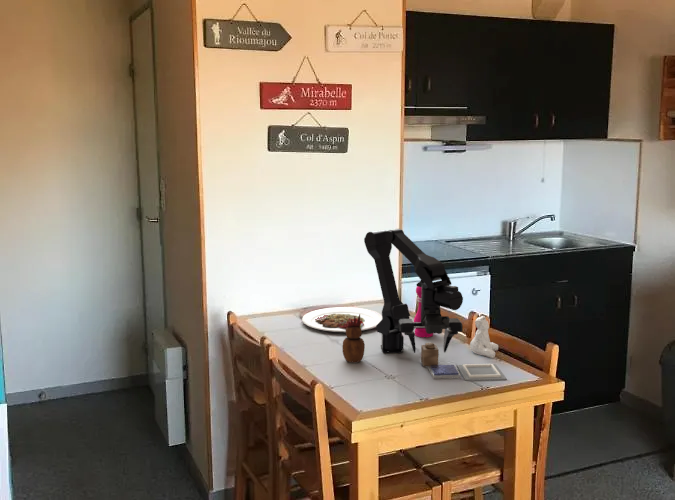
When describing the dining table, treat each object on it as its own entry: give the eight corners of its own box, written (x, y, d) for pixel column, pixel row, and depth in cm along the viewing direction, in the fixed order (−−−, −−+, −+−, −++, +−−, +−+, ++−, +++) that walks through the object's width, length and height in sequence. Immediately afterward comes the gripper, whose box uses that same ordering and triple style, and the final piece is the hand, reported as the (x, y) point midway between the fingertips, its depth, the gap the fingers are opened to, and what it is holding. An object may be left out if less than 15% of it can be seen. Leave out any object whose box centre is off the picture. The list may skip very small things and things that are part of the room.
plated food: (334, 307, 283) (334, 299, 282) (399, 320, 266) (399, 311, 265) (285, 326, 259) (285, 317, 258) (353, 341, 242) (353, 331, 241)
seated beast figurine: (494, 358, 224) (496, 321, 222) (466, 355, 227) (468, 319, 225) (498, 349, 233) (500, 313, 230) (472, 346, 236) (473, 311, 233)
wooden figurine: (366, 359, 224) (367, 312, 221) (361, 365, 218) (361, 318, 215) (346, 356, 226) (346, 310, 223) (340, 362, 220) (340, 315, 218)
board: (465, 380, 206) (465, 377, 206) (456, 366, 218) (456, 362, 217) (506, 380, 206) (506, 376, 206) (495, 365, 218) (495, 362, 218)
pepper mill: (410, 336, 246) (411, 279, 242) (416, 330, 252) (417, 275, 248) (431, 339, 243) (432, 281, 239) (436, 333, 250) (438, 277, 246)
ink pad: (433, 378, 207) (433, 374, 207) (428, 368, 215) (428, 364, 215) (460, 378, 208) (460, 373, 207) (454, 368, 216) (455, 364, 215)
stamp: (423, 367, 217) (423, 346, 216) (421, 362, 221) (421, 341, 220) (438, 366, 217) (438, 346, 216) (435, 361, 221) (435, 341, 220)
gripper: (403, 310, 207) (402, 362, 210) (467, 309, 208) (465, 361, 211) (398, 300, 218) (397, 349, 221) (459, 299, 219) (457, 348, 222)
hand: (429, 352), depth 219 cm, fingers open, 9 cm apart
